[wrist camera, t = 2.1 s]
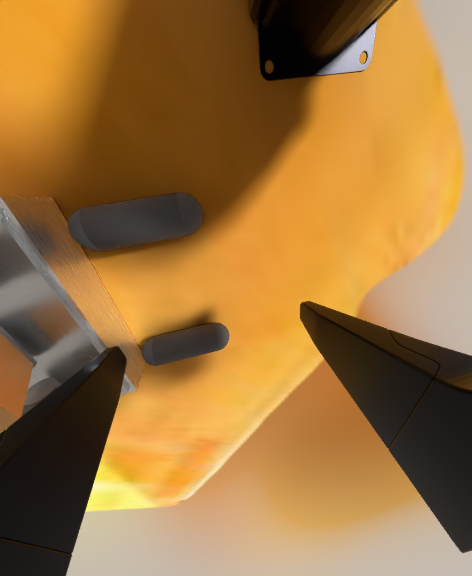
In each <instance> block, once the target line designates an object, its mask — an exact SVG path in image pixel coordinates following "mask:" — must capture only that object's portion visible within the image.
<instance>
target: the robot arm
mask: <svg viewBox="0 0 472 576" xmlns="http://www.w3.org/2000/svg"><path fill="white" fill-rule="evenodd" d="M248 1H249V15H250V17H251V19H252V21H253V23H258V37H259V57H260V70H261V74H262V76H263V78H264V79H265V80H268V81H273V80H282V79H292V78H301V77H311V76H320V75H330V74H340V73H349V72H359V71H363V70H365V69H366V68H367V67H368V65H369V64H370V61H371V58H372V52H373V45H374V39H375V32H376V26H377V21H378V20H379V19H380V18H381V17H382V16H383V15H384V14H385V13H386V12H387V11H388V10H389V9H390V8H391V7H392V6H393V5H394V4H395V3H396V2H397V1H398V0H248ZM363 51H365V52H366V53H367V60H366V62H365V64H361V63H360V61H359V58H360V54H361V53H362V52H363ZM268 60H270V61H272V62H273V65H274V69H273V72H272V73H270V74H269V73H267V72H266V71H265V63H266V61H268ZM300 319H301V321H302V323H303V324H304V326H305V328H306V330H307V332H308V333H309V335H310V337H311V339H312V341H313V342H314V344H315V346H316V347H317V349H318V350H319V352H320V353H321V354H322V356H323V357H324V359H325V360H326V361H327V363H328V364H329V366H330V367H331V368H332V370H333V371H334V373H335V374H336V376H337V377H338V378H339V380H340V381H341V383H342V384H343V386H344V387H345V388H346V390H347V391H348V392H349V394H350V395H351V397H352V398H353V400H354V401H355V402H356V404H357V405H358V407H359V408H360V410H361V411H362V413H363V414H364V415H365V417H366V418H367V420H368V421H369V422H370V424H371V425H372V427H373V428H374V430H375V431H376V432H377V434H378V435H379V437H380V438H381V439H382V441H383V442H384V444H385V445H386V447H387V448H389V451H390V452H391V454H392V455H393V457H394V458H395V459H396V461H397V463H398V464H399V465H400V467H401V468H402V470H403V471H404V472H405V474H406V475H407V476H408V478H409V480H410V481H411V482H412V484H413V485H414V487H415V488H416V489H417V491H418V492H419V494H420V495H421V497H422V498H423V499H424V501H425V502H426V504H427V505H428V507H430V509H431V511H432V512H433V514H434V515H435V516H436V518H437V519H438V521H439V522H440V524H441V525H442V526H443V528H444V529H445V531H446V532H447V533H448V535H449V536H450V538H451V539H452V541H453V542H454V543H455V544H456V546H457V547H458V548H459V550H460V551H461V552H462V553H465V552H468V551H472V356H470V355H467V354H463V353H460V352H457V351H454V350H451V349H447V348H444V347H441V346H437V345H434V344H431V343H428V342H424V341H421V340H418V339H415V338H412V337H409V336H406V335H403V334H401V333H398V332H395V331H392V330H388V329H386V328H384V327H381V326H378V325H375V324H372V323H369V322H367V321H363V320H361V319H358V318H355V317H353V316H350V315H347V314H344V313H341V312H339V311H336V310H333V309H330V308H327V307H325V306H322V305H319V304H316V303H313V302H310V301H306V302H302V303H301V304H300ZM126 364H127V359H126V357H125V355H124V353H123V352H122V350H121V349H120V347H118V346H113V347H109V348H107V349H105V350H104V351H103V352H102V353H100V354H99V355H98V356H97V357H95V358H94V359H93V360H92V361H90V362H89V363H88V364H87V365H85V366H84V367H83V368H82V369H80V370H79V371H78V372H77V373H75V374H74V375H73V376H72V377H70V378H69V379H68V380H67V381H65V382H64V383H63V384H62V385H60V386H59V387H58V388H57V389H55V390H54V391H53V392H52V393H50V394H49V395H48V396H47V397H45V398H44V399H43V400H42V401H40V402H39V403H38V404H37V405H35V406H34V407H33V408H32V409H30V410H29V411H28V412H27V413H25V414H24V415H23V416H22V417H20V418H19V419H18V420H17V421H15V422H14V423H13V424H12V425H10V426H9V427H8V428H7V430H4V431H3V432H2V433H0V576H66V573H67V570H68V567H69V563H70V560H71V557H72V554H71V553H72V552H73V549H74V546H75V543H76V539H77V536H78V533H79V530H80V526H81V523H82V520H83V517H84V513H85V510H86V507H87V503H88V500H89V497H90V494H91V490H92V487H93V484H94V480H95V477H96V474H97V471H98V467H99V464H100V461H101V457H102V454H103V451H104V447H105V444H106V441H107V438H108V434H109V431H110V428H111V424H112V421H113V418H114V415H115V411H116V408H117V405H118V401H119V398H120V394H121V390H122V384H123V379H124V374H125V369H126Z"/></svg>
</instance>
